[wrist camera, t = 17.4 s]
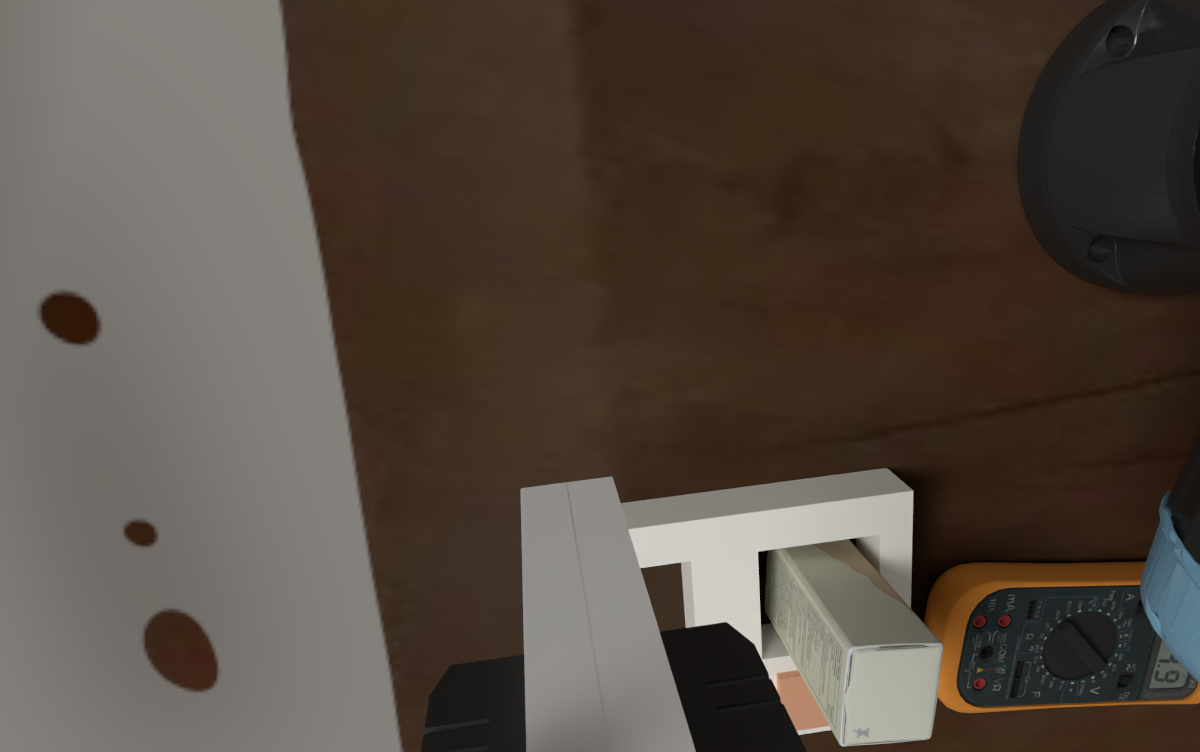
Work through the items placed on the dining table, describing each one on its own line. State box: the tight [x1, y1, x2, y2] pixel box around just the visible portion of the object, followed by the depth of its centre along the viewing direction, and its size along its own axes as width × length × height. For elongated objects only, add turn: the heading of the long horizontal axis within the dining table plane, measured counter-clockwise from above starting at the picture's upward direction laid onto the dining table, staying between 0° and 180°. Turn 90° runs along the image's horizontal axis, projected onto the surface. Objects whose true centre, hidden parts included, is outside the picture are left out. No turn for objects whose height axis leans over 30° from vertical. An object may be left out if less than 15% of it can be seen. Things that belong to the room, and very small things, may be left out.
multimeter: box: [924, 561, 1200, 713], centre depth 46 cm, size 9×18×3 cm, turn 88°
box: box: [765, 539, 943, 746], centre depth 39 cm, size 5×4×11 cm
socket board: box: [620, 468, 913, 735], centre depth 43 cm, size 20×14×4 cm
